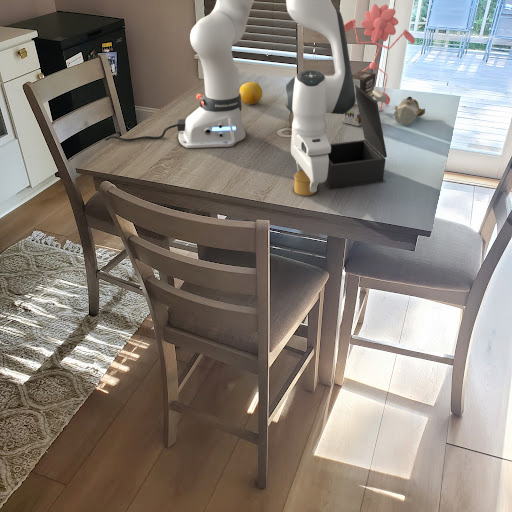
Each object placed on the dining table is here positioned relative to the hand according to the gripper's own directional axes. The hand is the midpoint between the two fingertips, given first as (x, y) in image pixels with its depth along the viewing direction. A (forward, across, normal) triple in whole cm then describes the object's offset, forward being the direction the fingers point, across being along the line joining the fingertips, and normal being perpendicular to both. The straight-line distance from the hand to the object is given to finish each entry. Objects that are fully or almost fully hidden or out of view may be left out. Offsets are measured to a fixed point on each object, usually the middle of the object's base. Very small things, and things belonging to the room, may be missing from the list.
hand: (306, 183), depth 154 cm
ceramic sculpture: (+2, -40, +51) cm, 64 cm away
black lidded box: (+2, -6, +15) cm, 16 cm away
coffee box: (+2, -44, +34) cm, 55 cm away
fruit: (+2, -72, +2) cm, 72 cm away
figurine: (+2, -59, +46) cm, 75 cm away
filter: (+2, 0, 0) cm, 2 cm away
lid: (-13, -6, +20) cm, 24 cm away
